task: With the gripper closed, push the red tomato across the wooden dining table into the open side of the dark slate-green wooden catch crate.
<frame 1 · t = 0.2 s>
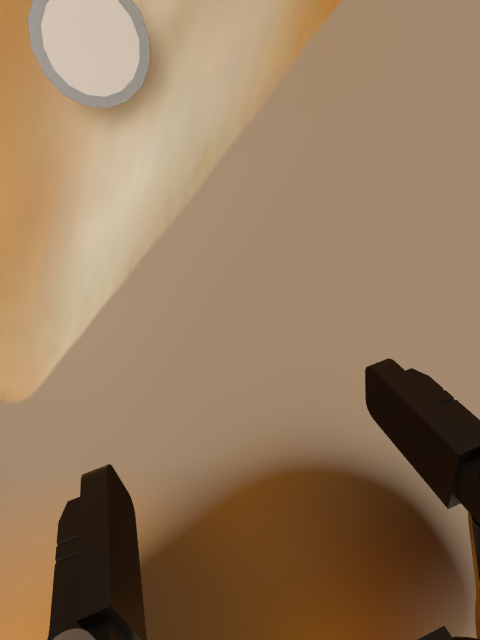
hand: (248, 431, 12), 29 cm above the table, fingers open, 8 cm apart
white cylindrical piece: (93, 52, 29), on the table
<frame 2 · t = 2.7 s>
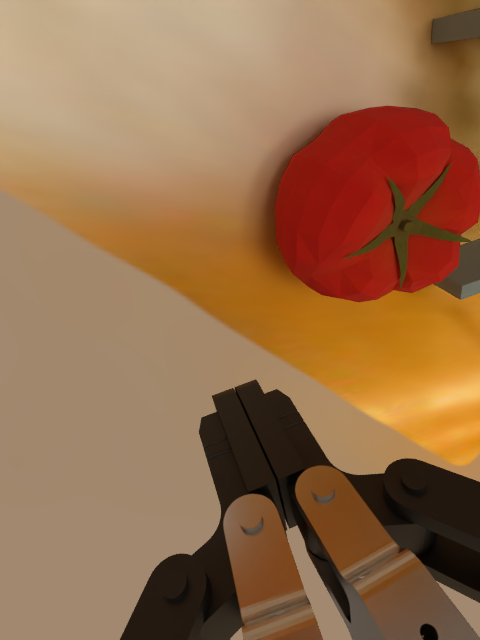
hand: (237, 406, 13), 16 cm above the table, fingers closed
tomato: (333, 193, 28), on the table
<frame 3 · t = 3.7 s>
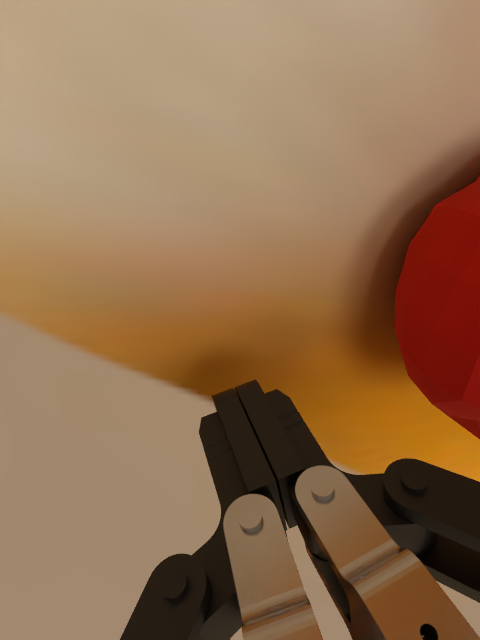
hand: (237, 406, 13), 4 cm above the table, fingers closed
tomato: (469, 253, 18), on the table
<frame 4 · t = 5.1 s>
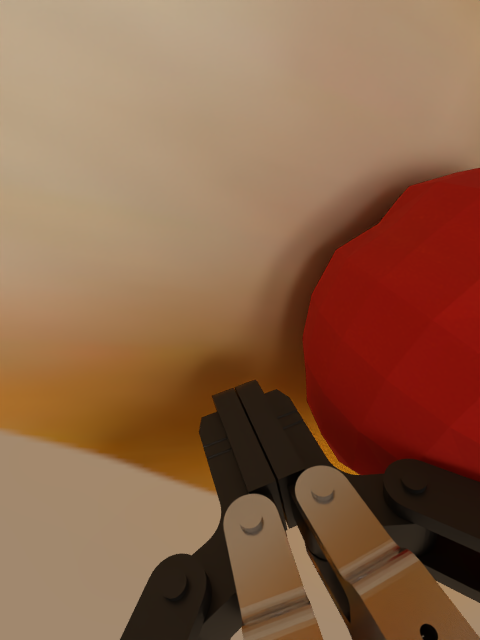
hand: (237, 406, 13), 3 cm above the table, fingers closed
tomato: (395, 289, 17), on the table, touching gripper, hand
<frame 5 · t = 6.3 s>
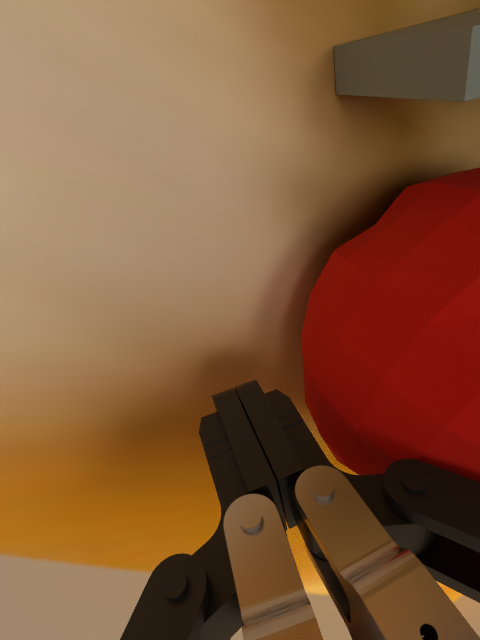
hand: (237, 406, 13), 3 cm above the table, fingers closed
tomato: (394, 289, 17), on the table, touching gripper
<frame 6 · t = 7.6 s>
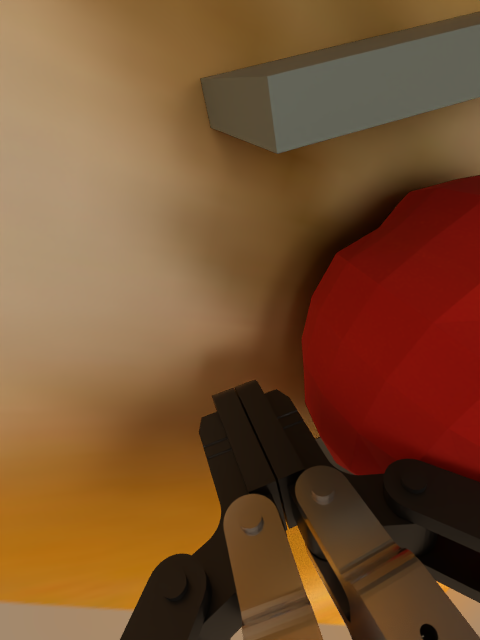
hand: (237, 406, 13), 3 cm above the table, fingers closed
tomato: (393, 293, 17), on the table, touching gripper
catch crate: (431, 273, 16), on the table
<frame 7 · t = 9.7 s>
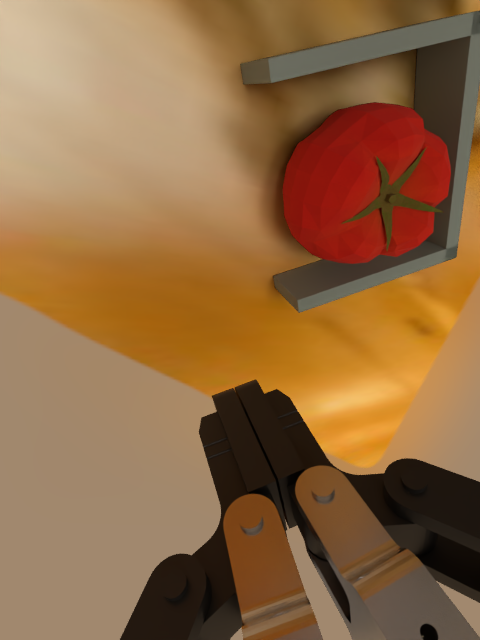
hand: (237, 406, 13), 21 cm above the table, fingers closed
tomato: (330, 177, 33), on the table
catch crate: (349, 166, 32), on the table
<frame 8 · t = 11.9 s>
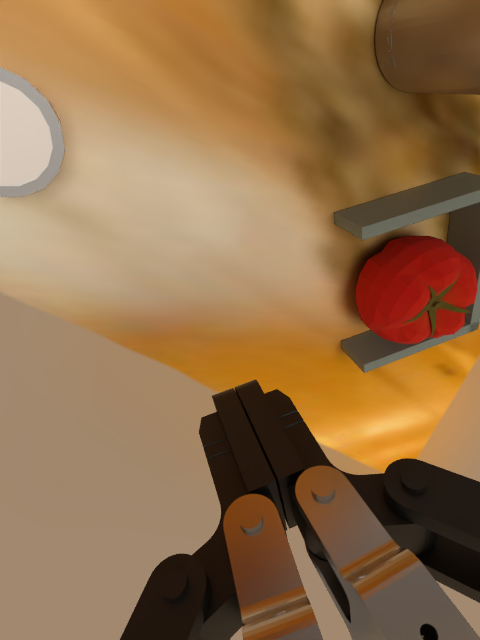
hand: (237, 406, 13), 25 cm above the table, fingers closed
tomato: (386, 273, 45), on the table
white cylindrical piece: (18, 125, 28), on the table
catch crate: (400, 266, 45), on the table
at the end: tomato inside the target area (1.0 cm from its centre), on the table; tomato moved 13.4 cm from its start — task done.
